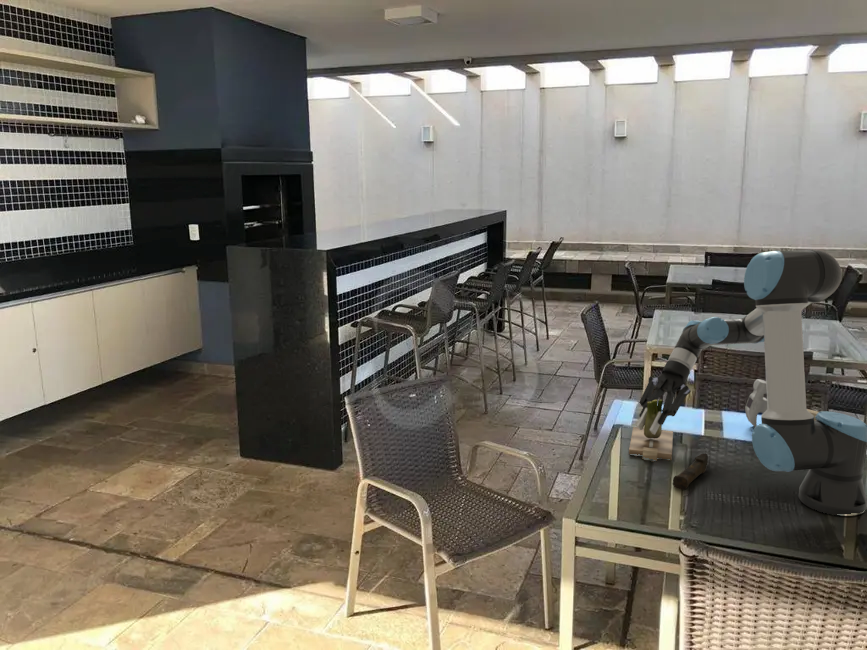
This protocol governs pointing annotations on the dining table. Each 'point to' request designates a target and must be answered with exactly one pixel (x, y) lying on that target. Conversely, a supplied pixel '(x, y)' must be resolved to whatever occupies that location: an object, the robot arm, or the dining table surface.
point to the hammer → (760, 402)
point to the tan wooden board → (651, 444)
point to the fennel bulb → (652, 418)
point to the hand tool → (691, 472)
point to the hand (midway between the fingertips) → (645, 430)
